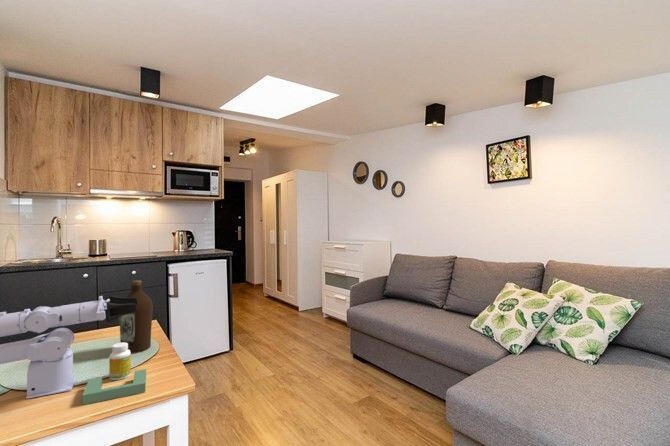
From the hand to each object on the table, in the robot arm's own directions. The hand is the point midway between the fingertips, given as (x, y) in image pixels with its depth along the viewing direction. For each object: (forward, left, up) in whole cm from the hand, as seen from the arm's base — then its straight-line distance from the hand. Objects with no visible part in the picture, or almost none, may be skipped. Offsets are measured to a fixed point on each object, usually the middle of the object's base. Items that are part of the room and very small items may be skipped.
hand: (136, 304), depth 101 cm
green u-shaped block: (-4, -8, -22) cm, 23 cm away
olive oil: (-1, +22, -22) cm, 31 cm away
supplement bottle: (-4, 0, -22) cm, 22 cm away
